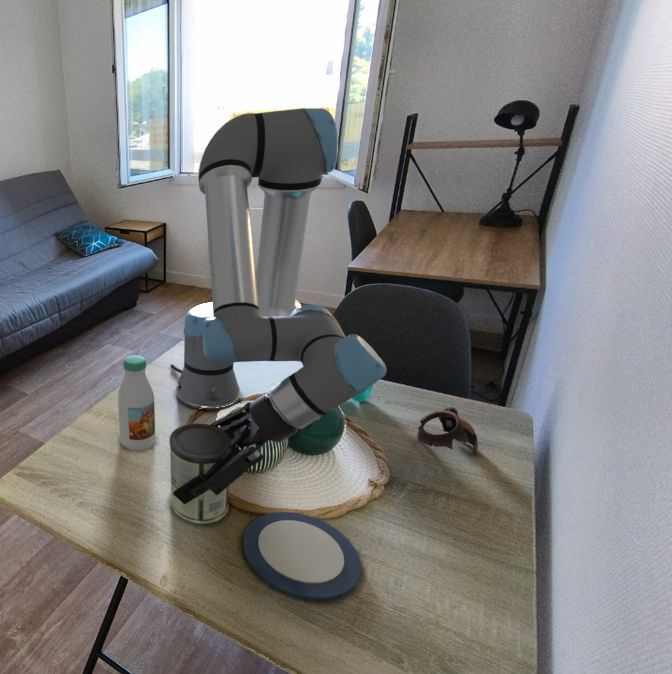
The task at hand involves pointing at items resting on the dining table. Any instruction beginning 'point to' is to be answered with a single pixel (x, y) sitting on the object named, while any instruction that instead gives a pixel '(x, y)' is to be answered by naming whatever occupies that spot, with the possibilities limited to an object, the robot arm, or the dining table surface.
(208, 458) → the coffee can
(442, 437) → the brown jagged ring piece
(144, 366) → the milk bottle
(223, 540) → the dining table surface
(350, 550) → the plate
